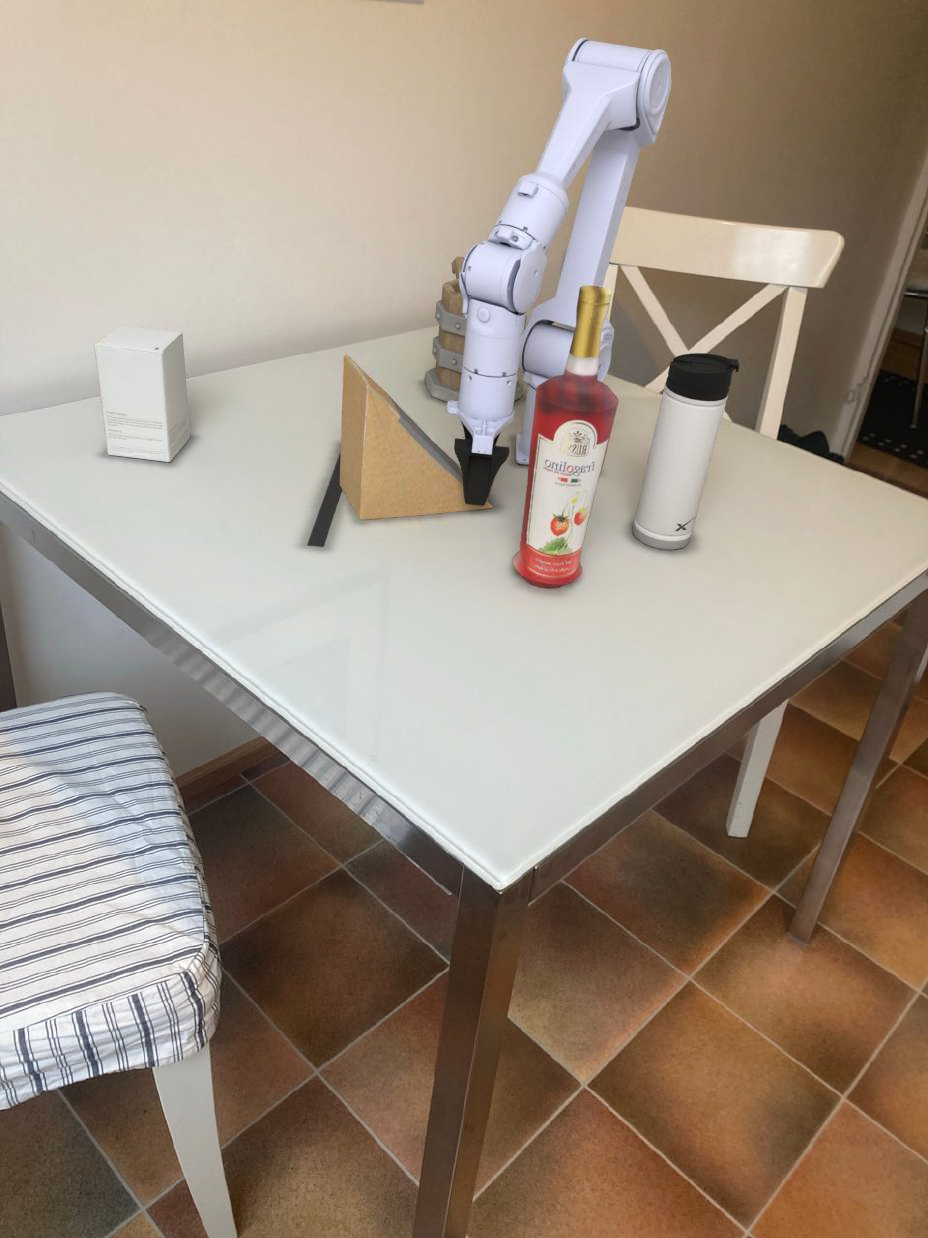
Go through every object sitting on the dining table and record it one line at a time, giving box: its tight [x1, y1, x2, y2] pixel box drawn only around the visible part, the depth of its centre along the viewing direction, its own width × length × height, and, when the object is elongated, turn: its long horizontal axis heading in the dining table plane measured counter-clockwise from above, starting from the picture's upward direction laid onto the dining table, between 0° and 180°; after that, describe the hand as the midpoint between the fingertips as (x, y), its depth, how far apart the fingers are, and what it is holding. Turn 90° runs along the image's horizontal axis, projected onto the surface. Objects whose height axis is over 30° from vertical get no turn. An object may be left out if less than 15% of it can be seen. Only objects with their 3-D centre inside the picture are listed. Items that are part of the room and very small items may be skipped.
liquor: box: [512, 286, 619, 589], centre depth 90 cm, size 7×7×28 cm
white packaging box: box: [93, 324, 191, 463], centre depth 109 cm, size 7×7×13 cm
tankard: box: [424, 256, 528, 403], centre depth 135 cm, size 20×13×15 cm, turn 13°
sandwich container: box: [340, 354, 493, 521], centre depth 105 cm, size 9×15×15 cm, turn 111°
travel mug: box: [631, 352, 740, 551], centre depth 101 cm, size 6×7×20 cm
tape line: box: [307, 450, 343, 548], centre depth 108 cm, size 2×24×1 cm, turn 178°
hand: (475, 487), depth 108 cm, fingers open, 7 cm apart
